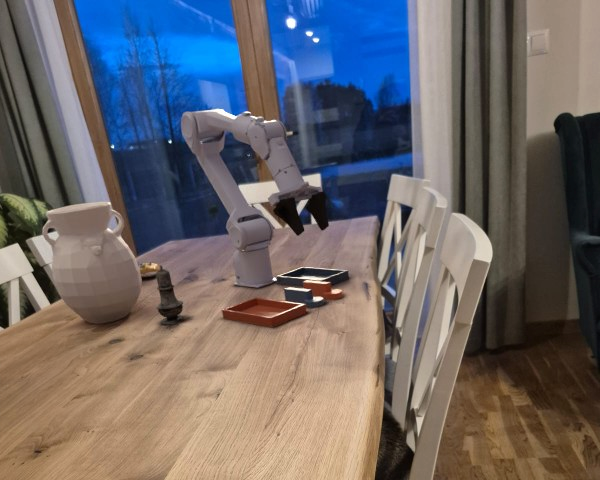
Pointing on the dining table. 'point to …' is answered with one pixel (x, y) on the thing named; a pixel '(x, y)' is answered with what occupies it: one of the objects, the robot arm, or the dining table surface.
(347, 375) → the dining table surface
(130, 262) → the white handled vase
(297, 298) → the dark blue stepped block
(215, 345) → the dining table surface
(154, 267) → the cake
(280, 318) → the terracotta tray
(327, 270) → the slate tray
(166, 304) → the salt shaker
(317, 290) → the orange stepped block
